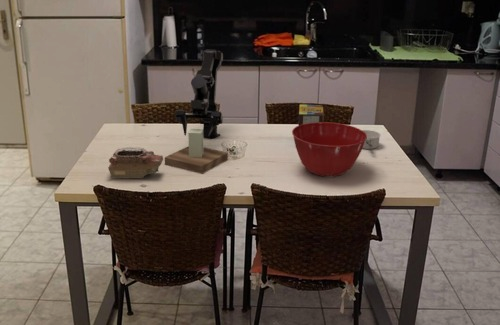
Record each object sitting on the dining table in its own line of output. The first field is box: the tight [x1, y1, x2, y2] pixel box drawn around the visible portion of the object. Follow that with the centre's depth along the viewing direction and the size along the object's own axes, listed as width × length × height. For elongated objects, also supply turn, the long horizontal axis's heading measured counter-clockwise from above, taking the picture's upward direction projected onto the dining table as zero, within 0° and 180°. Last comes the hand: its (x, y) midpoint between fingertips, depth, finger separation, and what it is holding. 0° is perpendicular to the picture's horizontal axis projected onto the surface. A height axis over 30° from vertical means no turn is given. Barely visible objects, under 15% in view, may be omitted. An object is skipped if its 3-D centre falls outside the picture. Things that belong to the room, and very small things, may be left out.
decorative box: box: [107, 147, 164, 179], centre depth 220 cm, size 13×20×10 cm, turn 84°
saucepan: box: [361, 129, 381, 150], centre depth 251 cm, size 12×20×6 cm, turn 175°
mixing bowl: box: [291, 121, 367, 178], centre depth 225 cm, size 28×28×16 cm
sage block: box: [187, 128, 205, 157], centre depth 232 cm, size 5×5×10 cm
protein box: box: [297, 104, 324, 126], centre depth 256 cm, size 10×15×16 cm
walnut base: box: [164, 145, 229, 174], centre depth 234 cm, size 18×18×3 cm
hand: (196, 135), depth 232 cm, fingers open, 9 cm apart
